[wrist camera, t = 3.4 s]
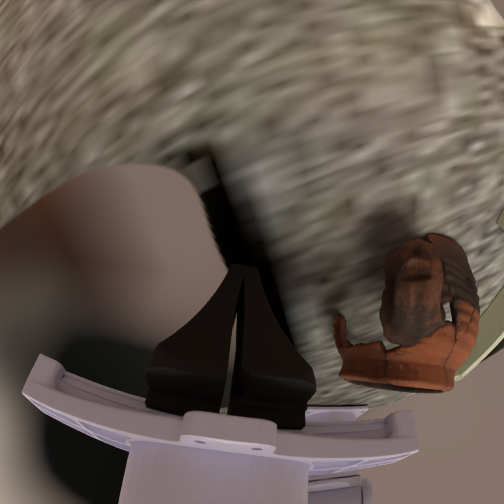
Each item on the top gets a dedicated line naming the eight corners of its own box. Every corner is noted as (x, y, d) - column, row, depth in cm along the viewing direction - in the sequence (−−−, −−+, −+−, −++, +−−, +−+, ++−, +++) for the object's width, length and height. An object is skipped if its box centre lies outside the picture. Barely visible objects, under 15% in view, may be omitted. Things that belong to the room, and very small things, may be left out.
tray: (451, 355, 21) (460, 379, 18) (401, 357, 20) (409, 386, 18) (541, 233, 12) (561, 256, 9) (503, 209, 11) (530, 236, 9)
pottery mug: (470, 288, 16) (461, 396, 13) (364, 288, 22) (343, 385, 19) (486, 173, 8) (504, 377, 5) (303, 194, 14) (257, 352, 11)
